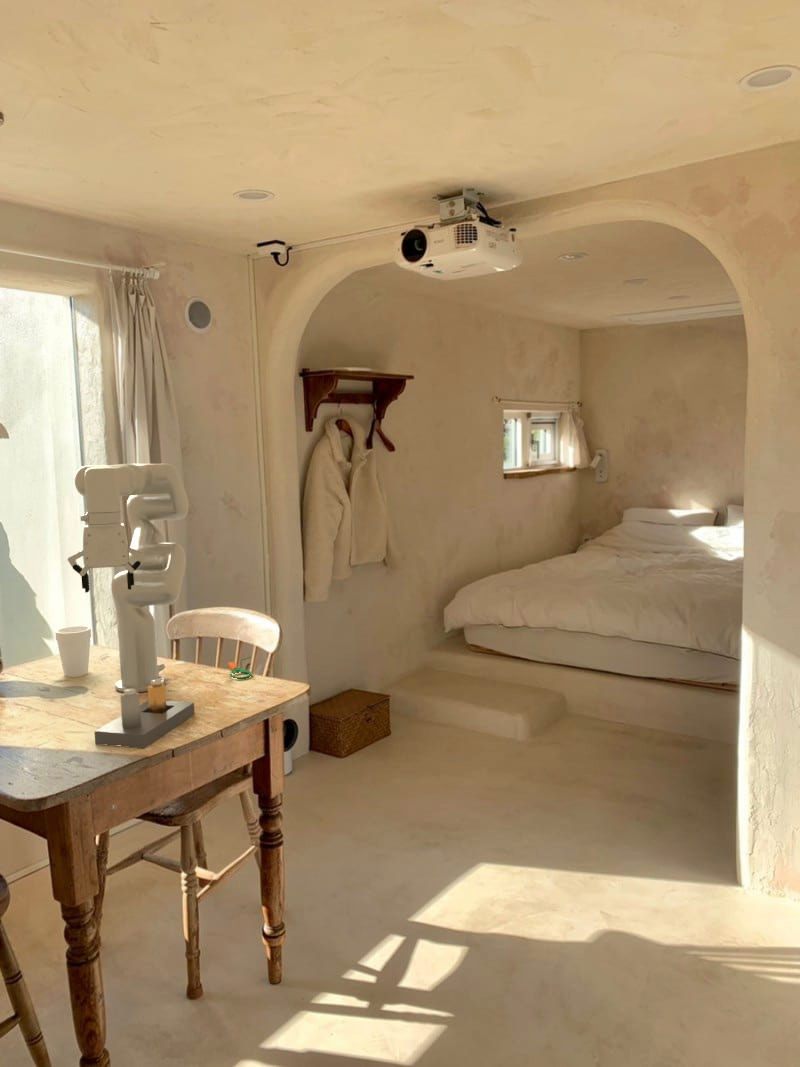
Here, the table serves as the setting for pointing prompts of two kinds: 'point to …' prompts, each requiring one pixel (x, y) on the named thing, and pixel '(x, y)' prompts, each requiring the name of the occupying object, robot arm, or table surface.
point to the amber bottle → (157, 697)
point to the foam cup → (74, 649)
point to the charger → (142, 722)
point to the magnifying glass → (237, 670)
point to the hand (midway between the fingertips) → (108, 590)
